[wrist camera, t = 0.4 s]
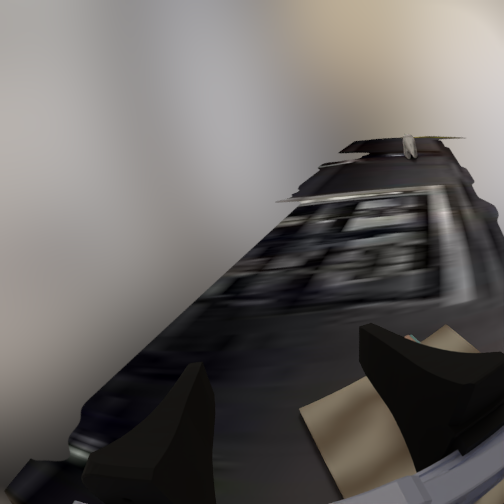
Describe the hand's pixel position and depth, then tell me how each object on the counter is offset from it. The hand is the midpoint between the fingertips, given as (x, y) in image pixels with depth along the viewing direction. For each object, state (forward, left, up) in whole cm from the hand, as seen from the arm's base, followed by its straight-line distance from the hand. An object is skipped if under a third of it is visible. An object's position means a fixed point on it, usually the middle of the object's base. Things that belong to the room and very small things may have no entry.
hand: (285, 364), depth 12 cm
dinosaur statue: (+90, -96, -20) cm, 133 cm away
